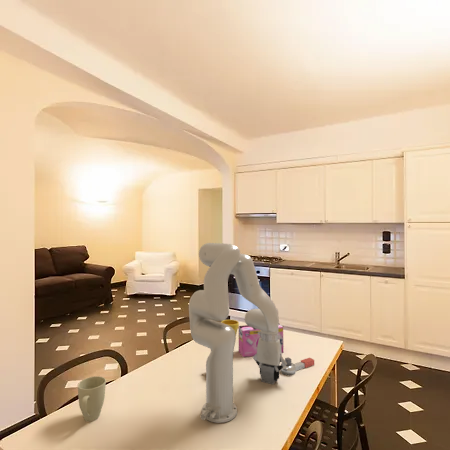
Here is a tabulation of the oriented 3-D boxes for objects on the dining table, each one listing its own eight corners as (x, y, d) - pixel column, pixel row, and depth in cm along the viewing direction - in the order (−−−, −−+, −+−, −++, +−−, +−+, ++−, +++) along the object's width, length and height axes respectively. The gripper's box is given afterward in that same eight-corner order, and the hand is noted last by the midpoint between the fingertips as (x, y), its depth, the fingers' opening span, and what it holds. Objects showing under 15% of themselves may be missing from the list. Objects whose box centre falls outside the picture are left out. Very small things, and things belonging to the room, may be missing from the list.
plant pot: (230, 334, 188) (230, 318, 188) (242, 339, 180) (242, 322, 180) (217, 338, 181) (217, 321, 181) (228, 343, 173) (228, 326, 173)
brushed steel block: (273, 384, 129) (273, 367, 129) (261, 381, 131) (261, 365, 131) (277, 378, 134) (277, 362, 134) (265, 375, 136) (265, 359, 136)
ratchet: (287, 376, 135) (287, 363, 135) (278, 370, 141) (278, 357, 141) (317, 366, 145) (317, 353, 145) (306, 361, 151) (306, 348, 151)
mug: (70, 418, 106) (70, 383, 106) (99, 406, 113) (99, 373, 113) (82, 433, 98) (82, 396, 98) (112, 419, 105) (112, 384, 105)
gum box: (279, 346, 169) (279, 322, 169) (286, 352, 161) (286, 326, 161) (238, 351, 163) (238, 325, 163) (242, 357, 155) (242, 330, 155)
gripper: (247, 335, 133) (247, 377, 133) (286, 342, 125) (286, 387, 125) (254, 330, 140) (254, 370, 140) (291, 336, 132) (291, 378, 132)
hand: (269, 377), depth 132 cm, fingers closed on brushed steel block, 5 cm apart
